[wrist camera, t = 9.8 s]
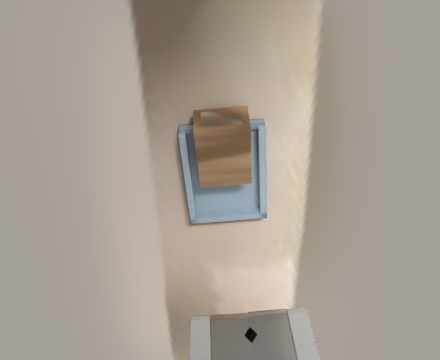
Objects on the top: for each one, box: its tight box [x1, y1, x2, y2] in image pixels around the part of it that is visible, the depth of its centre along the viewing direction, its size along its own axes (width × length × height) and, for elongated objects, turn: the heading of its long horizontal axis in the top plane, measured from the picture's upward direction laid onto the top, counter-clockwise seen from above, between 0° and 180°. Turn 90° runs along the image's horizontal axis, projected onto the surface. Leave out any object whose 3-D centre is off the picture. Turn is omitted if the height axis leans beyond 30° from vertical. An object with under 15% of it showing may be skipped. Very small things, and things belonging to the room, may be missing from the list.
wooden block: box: [193, 106, 252, 187], centre depth 47 cm, size 4×6×8 cm
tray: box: [178, 119, 267, 224], centre depth 51 cm, size 13×10×2 cm
